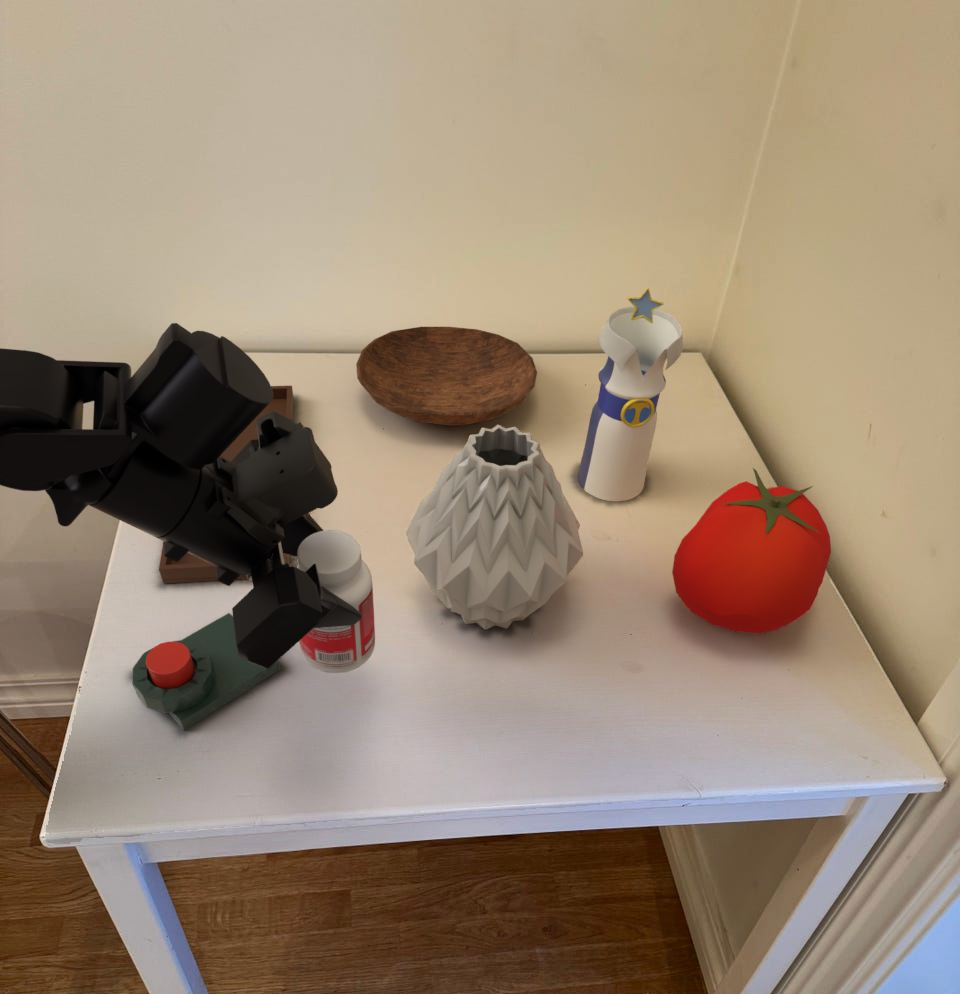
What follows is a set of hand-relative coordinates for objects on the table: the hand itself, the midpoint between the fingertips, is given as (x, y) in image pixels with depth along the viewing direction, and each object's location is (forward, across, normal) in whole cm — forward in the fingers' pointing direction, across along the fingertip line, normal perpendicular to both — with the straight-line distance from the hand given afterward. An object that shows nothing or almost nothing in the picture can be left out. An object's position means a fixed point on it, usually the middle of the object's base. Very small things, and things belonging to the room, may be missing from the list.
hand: (350, 590), depth 67 cm
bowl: (+23, +43, -4) cm, 48 cm away
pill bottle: (+4, 0, +6) cm, 7 cm away
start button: (-3, +4, +18) cm, 19 cm away
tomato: (+36, +2, -18) cm, 40 cm away
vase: (+20, +8, -1) cm, 22 cm away
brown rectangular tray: (+4, +32, +15) cm, 36 cm away
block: (+1, +5, +18) cm, 19 cm away
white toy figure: (+33, +23, -15) cm, 43 cm away
